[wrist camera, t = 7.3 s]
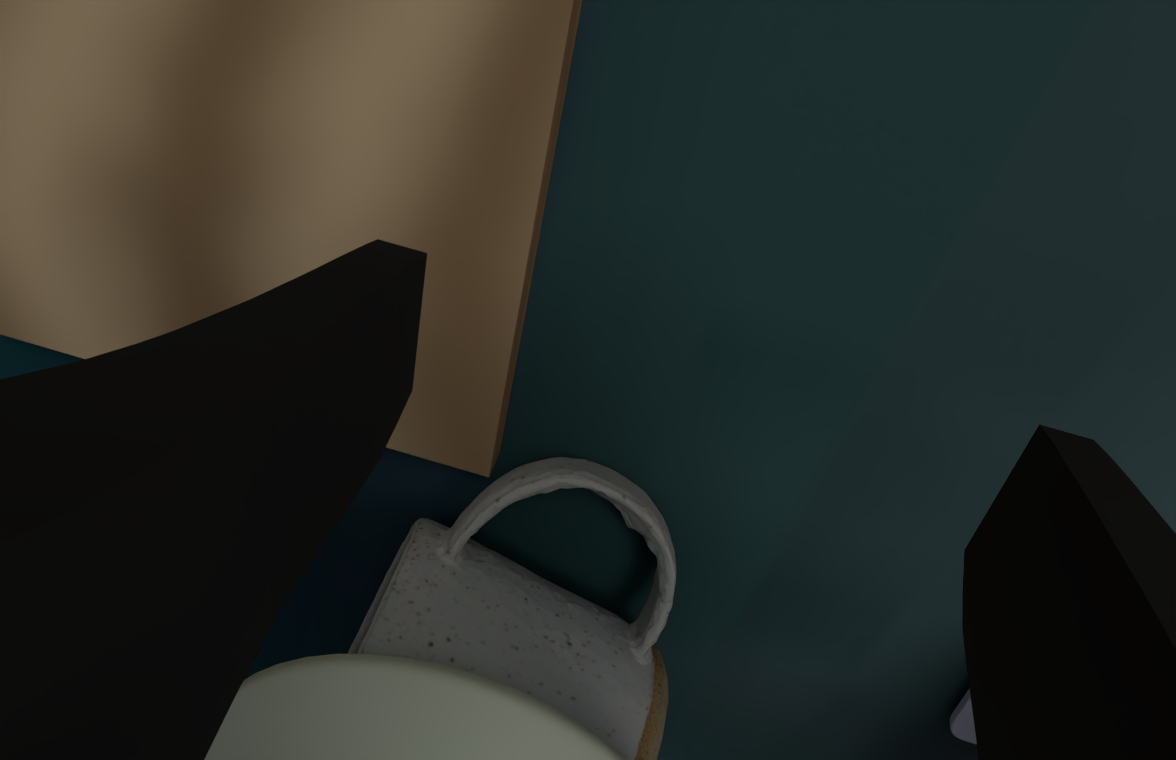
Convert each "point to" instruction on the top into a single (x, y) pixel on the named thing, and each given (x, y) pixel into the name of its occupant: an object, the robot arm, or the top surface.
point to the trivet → (282, 173)
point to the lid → (394, 715)
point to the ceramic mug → (533, 612)
